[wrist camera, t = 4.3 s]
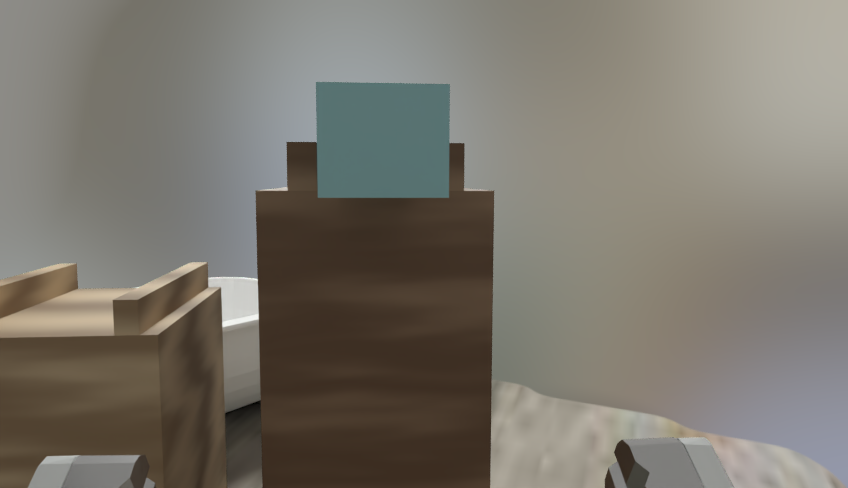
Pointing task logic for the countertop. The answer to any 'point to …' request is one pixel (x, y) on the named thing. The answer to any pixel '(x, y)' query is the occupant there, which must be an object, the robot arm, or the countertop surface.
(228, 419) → the countertop surface
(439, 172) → the teal block
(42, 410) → the tan wooden tall block
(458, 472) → the end cap post
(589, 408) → the countertop surface
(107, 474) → the robot arm
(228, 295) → the baking dish
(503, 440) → the countertop surface
